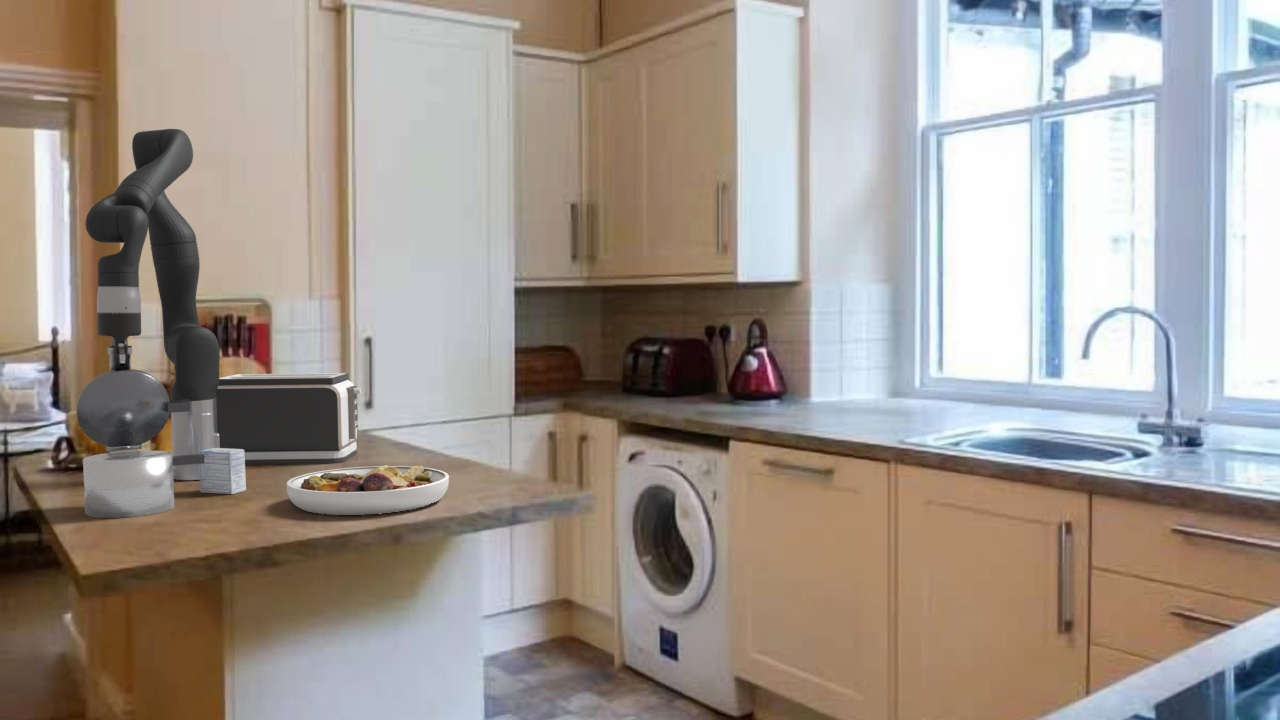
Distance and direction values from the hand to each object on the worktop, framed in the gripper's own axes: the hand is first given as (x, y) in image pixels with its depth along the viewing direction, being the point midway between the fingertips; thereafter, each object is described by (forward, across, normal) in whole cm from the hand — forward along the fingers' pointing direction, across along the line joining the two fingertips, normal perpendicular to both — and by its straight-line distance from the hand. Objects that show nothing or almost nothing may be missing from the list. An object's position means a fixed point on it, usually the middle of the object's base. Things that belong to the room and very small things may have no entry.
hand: (120, 401), depth 204 cm
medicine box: (+20, +3, -19) cm, 27 cm away
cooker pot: (+20, -6, -4) cm, 21 cm away
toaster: (+19, +43, -40) cm, 62 cm away
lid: (+2, -3, -2) cm, 4 cm away
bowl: (+20, -24, -41) cm, 51 cm away
